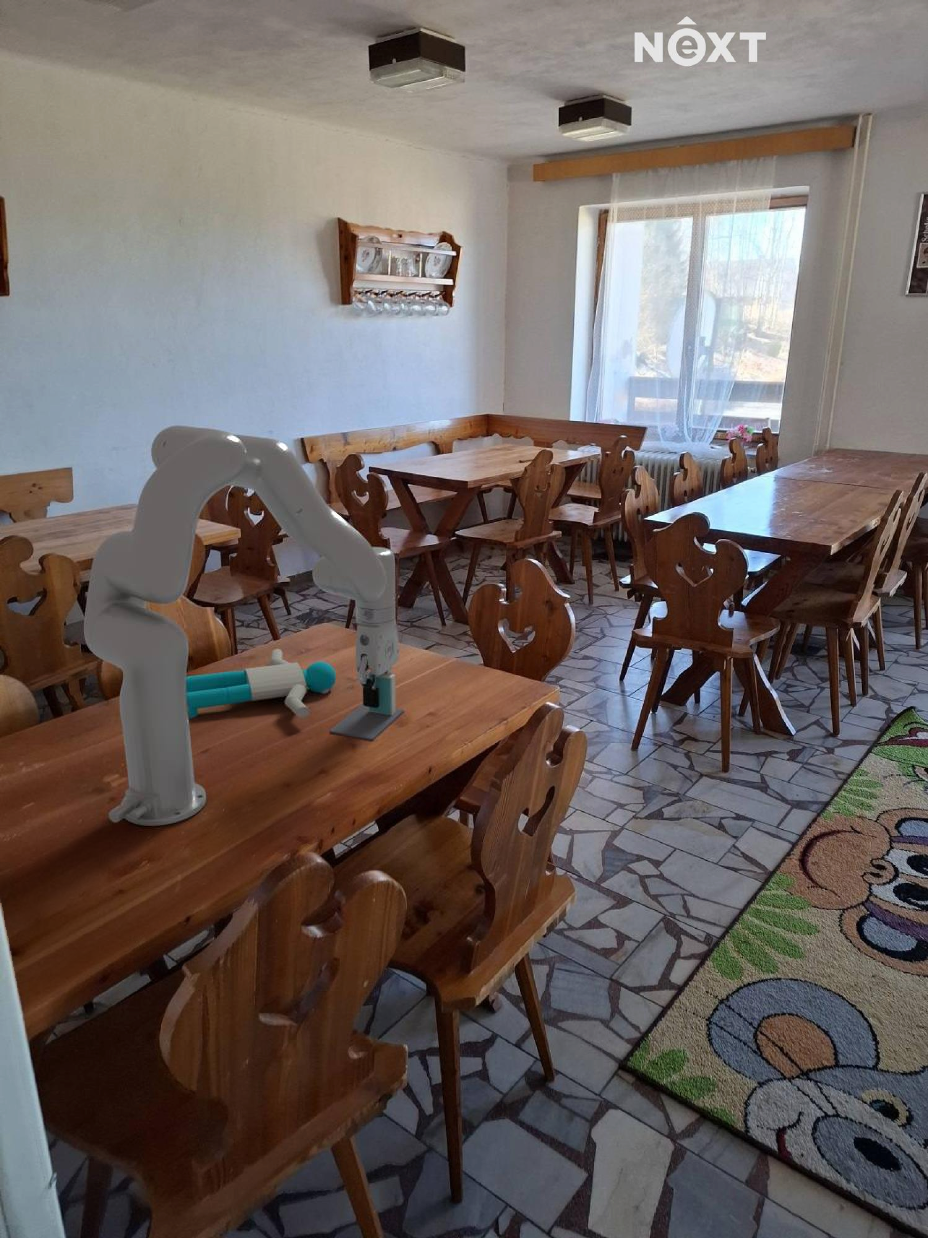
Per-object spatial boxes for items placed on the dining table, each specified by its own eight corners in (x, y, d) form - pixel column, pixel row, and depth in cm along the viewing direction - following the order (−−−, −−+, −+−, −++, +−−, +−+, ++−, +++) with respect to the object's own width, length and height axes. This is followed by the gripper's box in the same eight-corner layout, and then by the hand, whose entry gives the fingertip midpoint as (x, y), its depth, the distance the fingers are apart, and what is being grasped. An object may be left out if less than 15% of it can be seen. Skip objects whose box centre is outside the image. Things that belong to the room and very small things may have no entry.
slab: (391, 716, 165) (390, 678, 163) (368, 712, 167) (367, 674, 164) (395, 712, 167) (395, 674, 164) (372, 708, 169) (371, 671, 166)
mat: (372, 740, 156) (372, 738, 156) (329, 732, 159) (329, 730, 159) (404, 711, 168) (404, 709, 168) (363, 704, 171) (363, 702, 171)
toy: (193, 746, 154) (354, 722, 164) (189, 713, 152) (353, 691, 162) (184, 679, 185) (320, 662, 194) (180, 651, 183) (319, 635, 192)
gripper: (373, 628, 152) (375, 721, 157) (411, 603, 167) (412, 689, 173) (336, 623, 154) (339, 715, 160) (377, 599, 169) (378, 683, 175)
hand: (377, 700), depth 166 cm, fingers open, 4 cm apart
